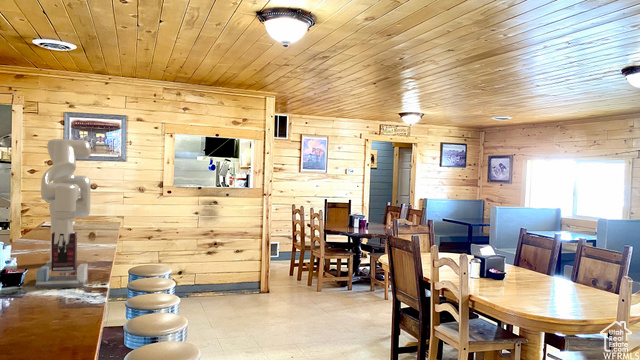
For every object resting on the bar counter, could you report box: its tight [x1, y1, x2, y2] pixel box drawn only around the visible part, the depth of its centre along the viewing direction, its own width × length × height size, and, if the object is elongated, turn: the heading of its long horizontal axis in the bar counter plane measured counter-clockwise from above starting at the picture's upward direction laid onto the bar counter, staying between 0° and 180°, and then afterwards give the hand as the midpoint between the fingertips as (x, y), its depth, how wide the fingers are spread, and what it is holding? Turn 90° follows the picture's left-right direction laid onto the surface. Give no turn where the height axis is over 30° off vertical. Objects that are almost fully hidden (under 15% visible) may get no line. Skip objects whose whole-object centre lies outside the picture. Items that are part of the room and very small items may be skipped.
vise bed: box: [34, 263, 89, 289], centre depth 191 cm, size 10×17×8 cm, turn 107°
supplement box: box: [50, 231, 78, 274], centre depth 191 cm, size 9×5×16 cm, turn 108°
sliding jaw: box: [35, 262, 51, 283], centre depth 193 cm, size 16×2×5 cm, turn 17°
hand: (64, 260), depth 191 cm, fingers closed on supplement box, 4 cm apart
